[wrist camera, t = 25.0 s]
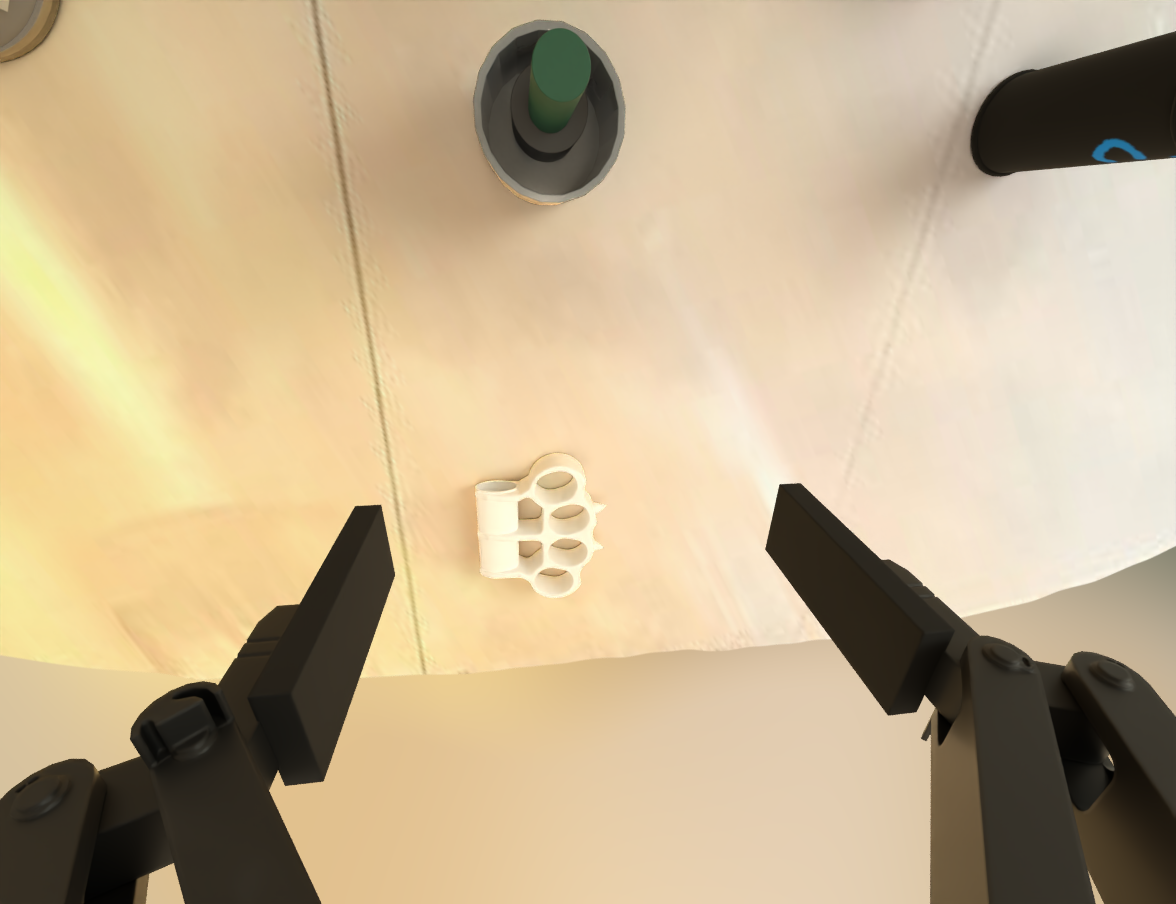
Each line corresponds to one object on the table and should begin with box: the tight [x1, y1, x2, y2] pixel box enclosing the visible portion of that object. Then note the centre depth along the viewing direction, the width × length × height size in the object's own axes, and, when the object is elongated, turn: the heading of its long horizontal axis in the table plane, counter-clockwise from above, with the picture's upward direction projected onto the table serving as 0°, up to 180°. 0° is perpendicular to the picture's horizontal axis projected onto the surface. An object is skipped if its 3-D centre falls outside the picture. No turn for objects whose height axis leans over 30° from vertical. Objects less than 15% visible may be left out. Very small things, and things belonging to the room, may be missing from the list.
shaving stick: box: [511, 28, 591, 162], centre depth 32 cm, size 17×5×5 cm
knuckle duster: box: [475, 453, 607, 598], centre depth 55 cm, size 3×18×15 cm
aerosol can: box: [971, 31, 1176, 176], centre depth 36 cm, size 8×8×20 cm
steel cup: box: [473, 20, 626, 205], centre depth 36 cm, size 10×10×10 cm
